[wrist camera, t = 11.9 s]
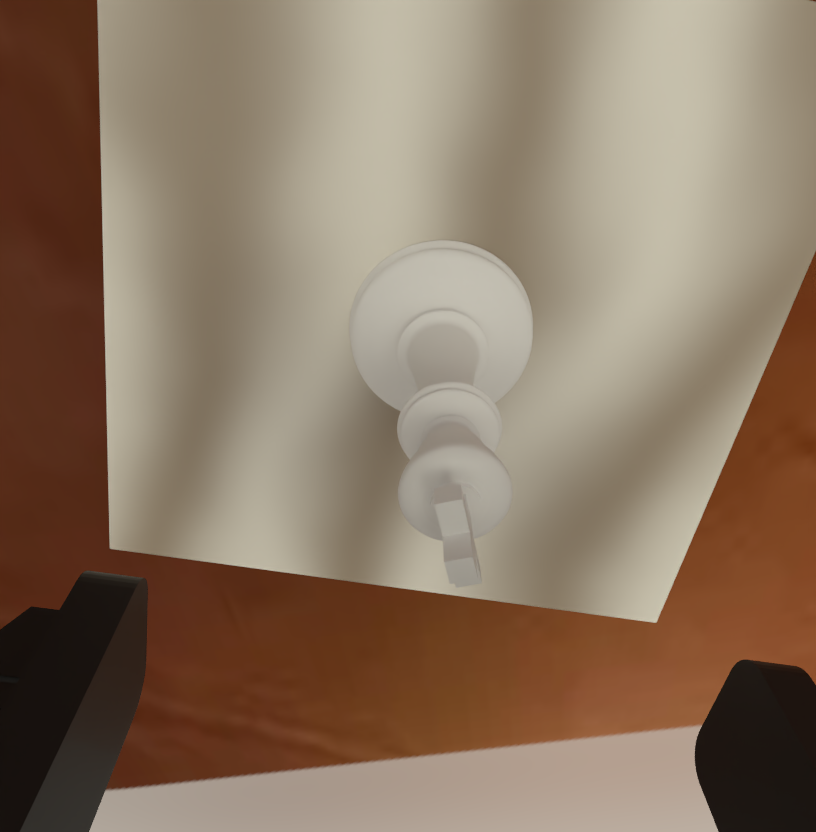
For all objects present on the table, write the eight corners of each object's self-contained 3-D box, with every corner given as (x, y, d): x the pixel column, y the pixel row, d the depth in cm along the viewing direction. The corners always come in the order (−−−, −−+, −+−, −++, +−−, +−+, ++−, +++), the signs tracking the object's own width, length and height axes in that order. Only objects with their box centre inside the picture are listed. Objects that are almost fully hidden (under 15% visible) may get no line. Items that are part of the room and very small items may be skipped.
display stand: (157, 465, 28) (109, 548, 24) (165, -105, 20) (93, -143, 15) (619, 532, 29) (656, 622, 25) (808, 22, 21) (914, 21, 17)
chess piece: (517, 220, 19) (608, 394, 10) (544, 392, 21) (640, 662, 12) (328, 262, 19) (253, 465, 10) (374, 426, 21) (346, 707, 13)
